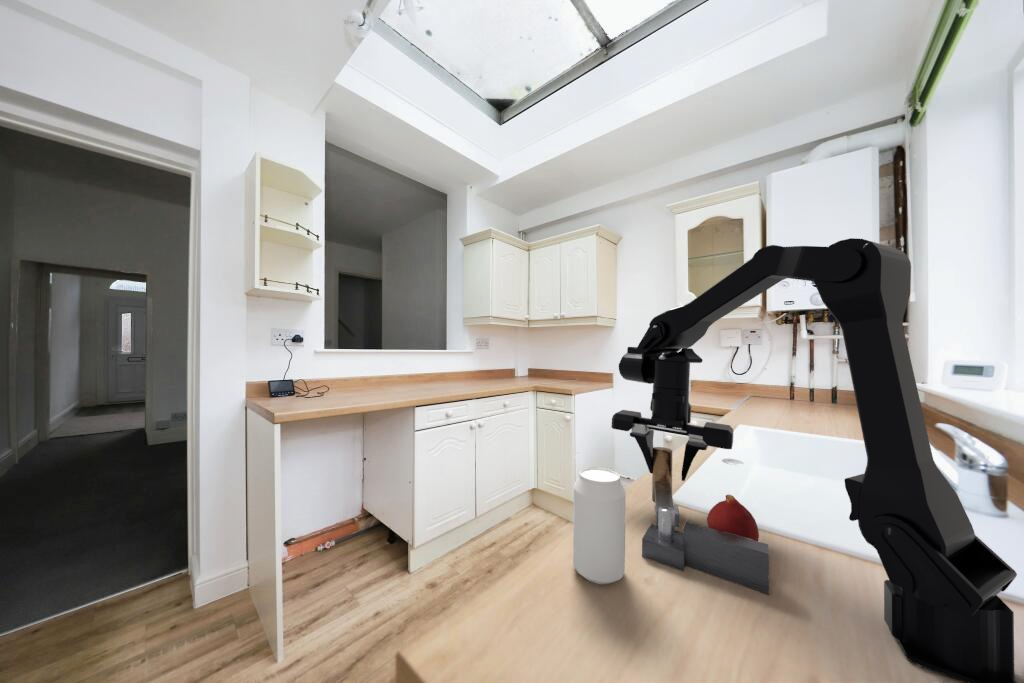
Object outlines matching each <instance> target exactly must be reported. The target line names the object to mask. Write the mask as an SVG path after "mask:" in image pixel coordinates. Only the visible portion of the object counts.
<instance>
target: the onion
mask: <svg viewBox="0 0 1024 683" xmlns="http://www.w3.org/2000/svg"><path fill="white" fill-rule="evenodd" d="M706 522H707V527H708V528H712V529H715V530H719V531H722V532H728V533H732V534H735V535H739V536H742V537H746V538H750V539H753V540H755V541H758V542H759V538H760V534H759V528H758V525H757V522H756V519H755V517H754V516H753V515H752V513H751V512H750V511H749V509H747V508H746V507H745V506H744V505H743V504H742V503H740V502H739V500H737V499H736V497H735V496H734V495H732V494H726V495H725V499H724V500H722V501H719V502H717V503H715V505H714V506H713V507H711V508H710V510H709V512H708V514H707V518H706Z"/></svg>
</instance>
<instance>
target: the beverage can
mask: <svg viewBox="0 0 1024 683" xmlns="http://www.w3.org/2000/svg"><path fill="white" fill-rule="evenodd" d="M578 475H579V476H578V478H576V480H575V483H574V484H573V516H572V517H573V519H572V520H573V521H572V522H573V523H572V524H573V527H572V531H573V532H572V533H573V534H572V560H573V561H572V562H573V563H572V564H573V567H574V569H575V571H576V572H577V573H578V574H579V575H580V576H582V577H583V578H585V580H588V582H592V584H593V583H594V584H598V585H609V584H612V583H615V582H617V581H619V580H620V579H622V578H623V576H624V575H625V569H626V567H625V566H626V506H627V505H626V501H627V500H626V498H627V497H626V496H627V495H626V494H627V493H626V492H627V491H626V490H625V488H624V485H623V484H622V481H621V476H620V474H619V473H618V472H616V471H614V470H612V469H608V468H604V467H585V468H583V469H580V470H579V474H578Z"/></svg>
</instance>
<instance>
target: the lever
mask: <svg viewBox="0 0 1024 683" xmlns="http://www.w3.org/2000/svg"><path fill="white" fill-rule="evenodd" d="M651 475H652V478H651V479H652V480H651V481H652V482H651V483H652V484H651V489H652V490H651V492H652V494H651V501H652V502H653V503H654V505H655V522H656V523H655V524H656V525H658V516H659V507H660V506H667V507H670V508H673V509H674V510H675V528H681V526H680V525H681V524H680V523H681V522H680V520H681V518H680V517H681V514H680V509H679V508H680V507H679V505H677V504H674V499H673V450H672V449H671V448H667V447H662V446H661V447H660V446H653V450H652V473H651Z"/></svg>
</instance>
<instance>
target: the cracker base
mask: <svg viewBox="0 0 1024 683" xmlns="http://www.w3.org/2000/svg"><path fill="white" fill-rule="evenodd" d="M641 542H642V543H641V557H642V558H644V559H647V560H650V561H653V562H655V563H657V564H658V563H659V564H662V565H664V566H666V567H667V566H668V567H670V568H672V569H675V570H678V571H681V572H685V569H686V567H687V568H689V569H692V570H695V571H698V572H701V573H703V574H704V573H705V574H707V575H710V576H711V577H715V578H719V579H721V580H724V581H727V582H729V583H734V584H735V585H739V586H741V587H744V588H747V589H750V590H753V591H756V592H759V593H761V594H764V595H767V596H770V549H769V543H765V542H761V541H759V540H758V541H755V540H753V539H750V538H746V537H742V536H739V535H735V534H732V533H728V532H722V531H719V530H715V529H712V528H708V526H705V525H701V524H697V523H694V522H690V521H685V523H684V526H683V529H682V531H678V530H676V527H675V510H674V509H673V508H670V507H667V506H660V507H659V516H658V524H656V523H654V522H652V523H651V524H650V525H649V526H648V528H647V530H646V531H645V534H644V535H643V536H642V538H641Z"/></svg>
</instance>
